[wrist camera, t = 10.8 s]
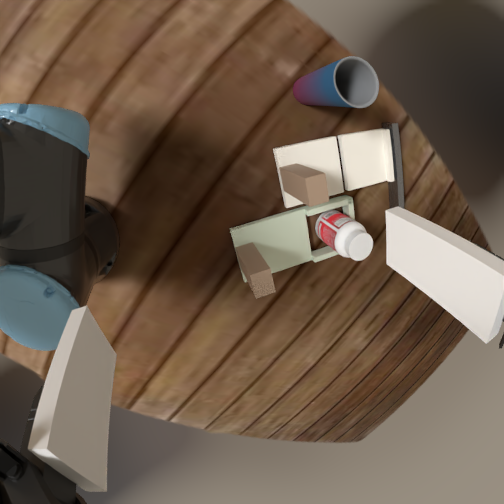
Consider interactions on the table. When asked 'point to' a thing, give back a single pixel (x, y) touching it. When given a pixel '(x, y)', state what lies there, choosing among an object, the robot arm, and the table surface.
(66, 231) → the robot arm
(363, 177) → the white strip
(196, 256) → the table surface
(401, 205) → the end bar
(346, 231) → the pill bottle
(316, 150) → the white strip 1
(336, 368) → the table surface
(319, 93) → the cup
